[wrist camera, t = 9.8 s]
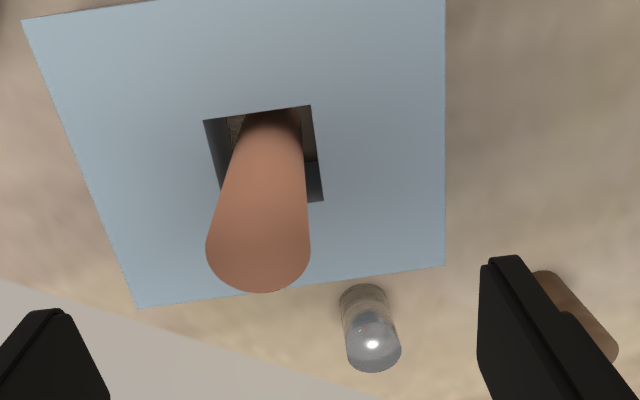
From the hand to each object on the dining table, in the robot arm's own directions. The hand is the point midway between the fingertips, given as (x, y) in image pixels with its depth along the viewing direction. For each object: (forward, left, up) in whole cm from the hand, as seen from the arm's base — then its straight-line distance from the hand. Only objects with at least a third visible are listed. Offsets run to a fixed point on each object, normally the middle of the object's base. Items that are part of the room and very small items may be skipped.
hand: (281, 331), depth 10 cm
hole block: (+1, 0, -16) cm, 16 cm away
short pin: (-3, +13, -16) cm, 21 cm away
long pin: (+1, 0, -16) cm, 16 cm away
